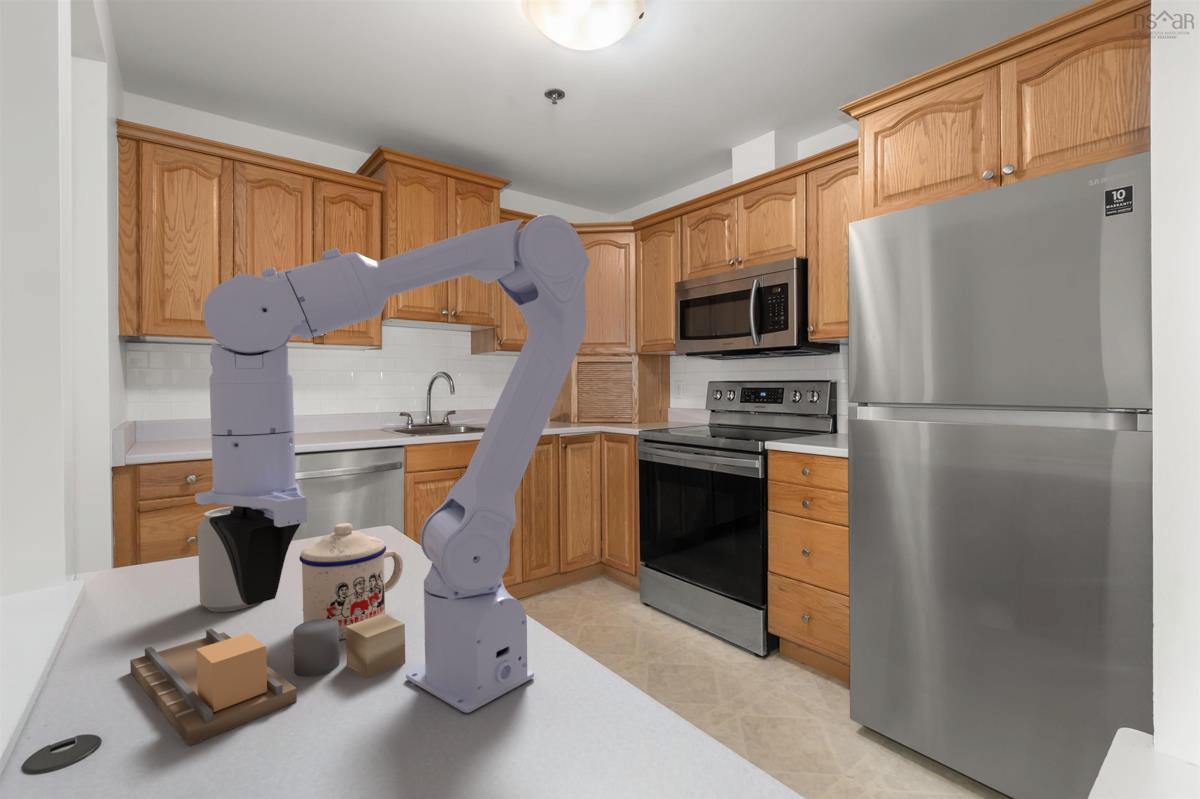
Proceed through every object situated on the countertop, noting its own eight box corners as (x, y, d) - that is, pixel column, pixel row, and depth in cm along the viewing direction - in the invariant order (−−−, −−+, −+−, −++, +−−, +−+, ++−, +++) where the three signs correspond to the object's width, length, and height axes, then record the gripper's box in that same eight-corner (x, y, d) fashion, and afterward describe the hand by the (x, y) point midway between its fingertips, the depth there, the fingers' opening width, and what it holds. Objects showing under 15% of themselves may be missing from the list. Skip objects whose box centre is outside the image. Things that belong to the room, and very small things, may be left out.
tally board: (296, 701, 51) (296, 679, 51) (188, 746, 45) (187, 720, 45) (224, 643, 62) (223, 624, 62) (129, 672, 56) (129, 651, 56)
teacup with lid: (327, 650, 61) (324, 539, 60) (286, 628, 66) (283, 527, 66) (424, 613, 70) (422, 517, 70) (381, 596, 76) (379, 508, 75)
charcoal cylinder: (346, 665, 57) (345, 625, 57) (305, 681, 54) (304, 639, 54) (327, 653, 60) (327, 615, 60) (287, 668, 57) (286, 628, 57)
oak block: (405, 663, 58) (404, 623, 58) (367, 679, 55) (366, 637, 55) (384, 651, 61) (383, 613, 60) (346, 666, 57) (345, 626, 57)
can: (282, 592, 77) (280, 503, 77) (242, 615, 70) (239, 516, 70) (229, 591, 78) (227, 502, 78) (184, 613, 71) (181, 515, 70)
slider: (267, 691, 50) (265, 645, 50) (213, 712, 47) (212, 663, 47) (249, 676, 53) (248, 633, 52) (197, 695, 50) (196, 648, 49)
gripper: (169, 431, 48) (174, 593, 49) (227, 443, 39) (234, 643, 39) (261, 426, 54) (266, 571, 54) (333, 434, 44) (337, 611, 45)
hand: (259, 600), depth 47 cm, fingers closed
